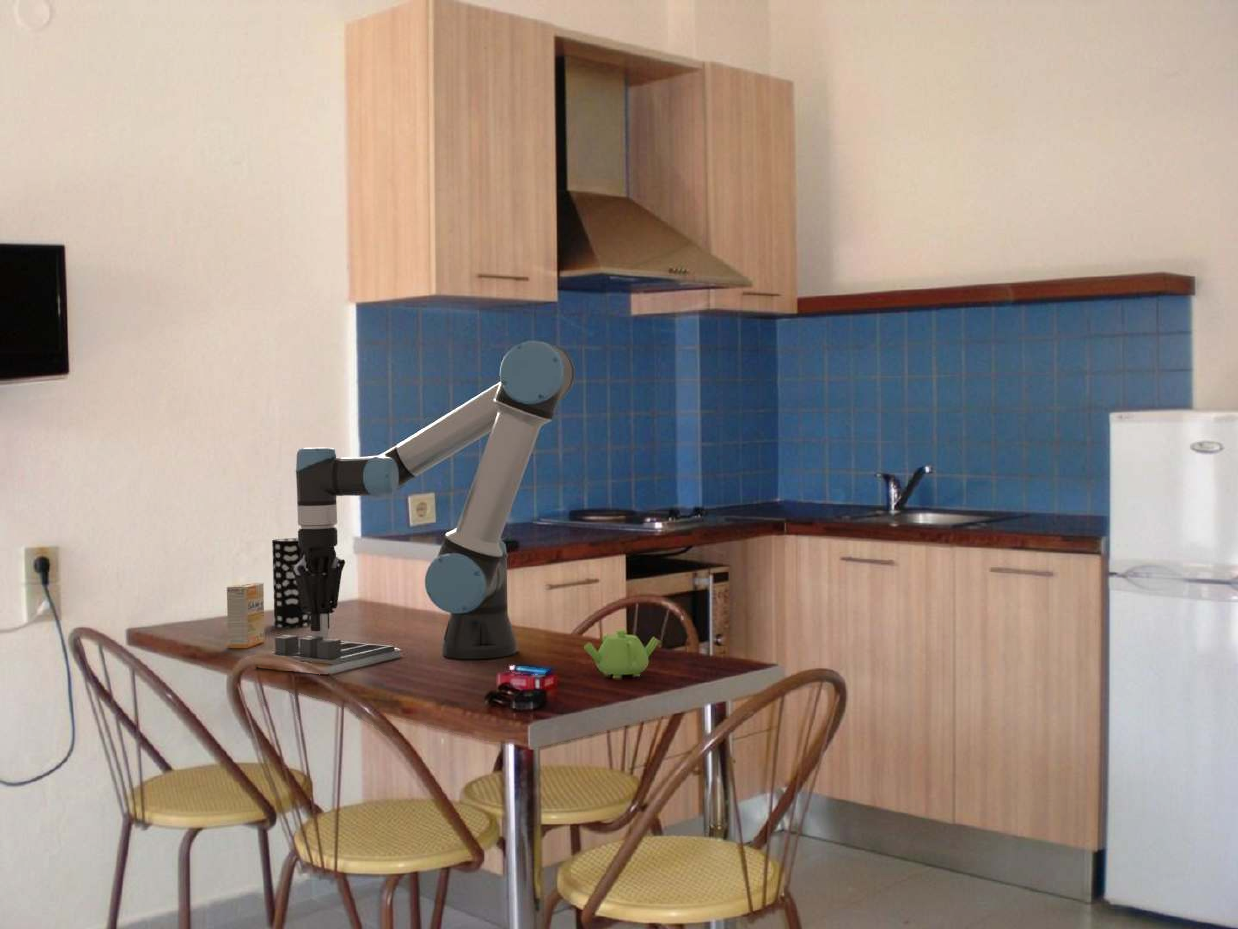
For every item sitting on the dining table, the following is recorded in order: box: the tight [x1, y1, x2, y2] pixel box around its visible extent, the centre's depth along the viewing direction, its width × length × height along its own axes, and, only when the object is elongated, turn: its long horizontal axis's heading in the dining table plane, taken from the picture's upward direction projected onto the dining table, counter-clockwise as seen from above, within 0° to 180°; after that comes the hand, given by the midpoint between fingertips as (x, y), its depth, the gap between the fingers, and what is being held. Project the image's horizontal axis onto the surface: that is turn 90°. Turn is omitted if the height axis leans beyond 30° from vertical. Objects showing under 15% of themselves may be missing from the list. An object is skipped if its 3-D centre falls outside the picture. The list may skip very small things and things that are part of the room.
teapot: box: [583, 629, 661, 678], centre depth 252 cm, size 11×12×8 cm
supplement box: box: [226, 582, 265, 649], centre depth 294 cm, size 8×5×13 cm, turn 168°
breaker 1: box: [274, 634, 300, 655], centre depth 269 cm, size 3×4×4 cm
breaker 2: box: [317, 638, 341, 660], centre depth 264 cm, size 3×4×4 cm
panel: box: [270, 641, 403, 675], centre depth 272 cm, size 18×22×2 cm
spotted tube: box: [271, 537, 311, 629], centre depth 323 cm, size 8×8×20 cm
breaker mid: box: [299, 635, 323, 657], centre depth 267 cm, size 3×4×4 cm
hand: (320, 647), depth 270 cm, fingers closed
